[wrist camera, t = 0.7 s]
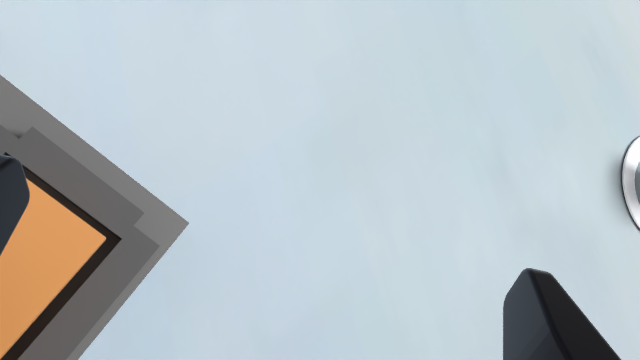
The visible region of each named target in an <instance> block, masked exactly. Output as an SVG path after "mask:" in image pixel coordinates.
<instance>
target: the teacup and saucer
mask: <svg viewBox="0 0 640 360" xmlns="http://www.w3.org/2000/svg"><path fill="white" fill-rule="evenodd" d="M639 161H640V137H638V138H637V139H636V140H635V141H634V142H633V143H632V144H631V146H630V147H629V149H628V151H627V153H626V156H625V159H624V164H623V172H622V182H623V191H624V196H625V200H626V203H627V206H628V209H629V211H630V214H631V216H632V218H633V219H634V221H635V223H636V224H637V226H638V227H639V228H640V204H639V201H638V199H637V195H636V191H635V172H636V168H637V165H638V163H639Z"/></svg>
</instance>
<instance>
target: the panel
mask: <svg viewBox="0 0 640 360" xmlns="http://www.w3.org/2000/svg"><path fill="white" fill-rule="evenodd" d="M0 154H1V155H6V156H11V157H15V158H17V159H18V160H19V161H20V162H21V164H22V166H23V170H24V173H25V177H26V178H27V179H28V180H29V181H31V182H32V183H33V184H35V185H36V186H37V187H39V188H40V189H41V190H43V191H44V192H45V193H47V194H48V195H50V196H51V197H52V198H54V199H55V200H56V201H58V202H59V203H60V204H62V205H63V206H64V207H66V208H67V209H68V210H70V211H71V212H72V213H74V214H75V215H76V216H78V217H79V218H81V219H82V220H83V221H85V222H86V223H87V224H89V225H90V226H91V227H93V228H94V229H95V230H97V231H98V232H99V233H101V234H102V235H103V236H105V237H106V240H105V241H104V242H103V244H102V245H101V246H100V247H99V248H98V249H97V250H96V252H95V253H94V254H93V255H92V256H91V257H90V258H89V259H88V261H87V262H86V263H85V264H84V265H83V266H82V267H81V269H80V270H79V271H78V272H77V273H76V274H75V275H74V277H73V278H72V279H71V280H70V281H69V282H68V283H67V284H66V286H65V287H64V288H63V289H62V290H61V291H60V292H59V294H58V295H57V296H56V297H55V298H54V299H53V300H52V302H51V303H50V304H49V305H48V306H47V307H46V308H45V309H44V311H43V312H42V313H41V314H40V315H39V316H38V317H37V319H36V320H35V321H34V322H33V323H32V324H31V325H30V327H29V328H28V329H27V330H26V331H25V332H24V333H23V334H22V336H21V337H20V338H19V339H18V340H17V341H16V342H15V344H14V345H13V346H12V347H11V348H10V349H9V350H8V352H7V353H6V354H5V355H4V356H3V357H2V358H1V359H0V360H78V359H79V358H80V356H81V355H82V354H83V353H84V351H85V350H86V349H87V348H88V347H89V345H90V344H91V343H92V342H93V340H94V339H95V338H96V337H97V336H98V334H99V333H100V332H101V331H102V329H103V328H104V327H105V326H106V324H107V323H108V322H109V321H110V320H111V318H112V317H113V316H114V315H115V313H116V312H117V311H118V310H119V309H120V307H121V306H122V305H123V304H124V302H125V301H126V300H127V299H128V298H129V296H130V295H131V294H132V293H133V291H134V290H135V289H136V288H137V287H138V285H139V284H140V283H141V282H142V280H143V279H144V278H145V277H146V276H147V274H148V273H149V272H150V271H151V269H152V268H153V267H154V266H155V264H156V263H157V262H158V261H159V260H160V258H161V257H162V256H163V255H164V253H165V252H166V251H167V250H168V249H169V247H170V246H171V245H172V244H173V242H174V241H175V240H176V239H177V238H178V236H179V235H180V234H181V233H182V231H183V230H184V229H185V228H186V227H187V225H188V224H189V222H187V221H186V220H185V219H183V218H182V217H181V216H180V215H178V214H177V213H176V212H174V211H173V210H172V209H171V208H169V207H168V206H167V205H166V204H164V203H163V202H162V201H160V200H159V199H158V198H157V197H155V196H154V195H153V194H152V193H150V192H149V191H148V190H146V189H145V188H144V187H143V186H141V185H140V184H139V183H137V182H136V181H135V180H134V179H132V178H131V177H130V176H129V175H127V174H126V173H125V172H123V171H122V170H121V169H120V168H118V167H117V166H116V165H115V164H113V163H112V162H111V161H109V160H108V159H107V158H106V157H104V156H103V155H102V154H100V153H99V152H98V151H97V150H95V149H94V148H93V147H92V146H90V145H89V144H88V143H86V142H85V141H84V140H83V139H81V138H80V137H79V136H78V135H76V134H75V133H74V132H72V131H71V130H70V129H69V128H67V127H66V126H65V125H64V124H62V123H61V122H60V121H58V120H57V119H56V118H55V117H53V116H52V115H51V114H49V113H48V112H47V111H46V110H44V109H43V108H42V107H41V106H39V105H38V104H37V103H35V102H34V101H33V100H32V99H30V98H29V97H28V96H27V95H25V94H24V93H23V92H21V91H20V90H19V89H18V88H16V87H15V86H14V85H12V84H11V83H10V82H9V81H7V80H6V79H5V78H4V77H2V76H1V75H0Z"/></svg>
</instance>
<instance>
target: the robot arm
mask: <svg viewBox="0 0 640 360" xmlns="http://www.w3.org/2000/svg"><path fill="white" fill-rule="evenodd" d="M29 199H30V191H29V187H28V184H27V180H26V177H25V173H24V170H23V166H22V164H21V162H20V161H19V160H18V159H17V158H15V157H11V156H6V155H1V154H0V256H1V254H2V252H3V250H4V248H5V246H6V245H7V243H8V241H9V239H10V237H11V235H12V234H13V232H14V230H15V228H16V226H17V224H18V222H19V221H20V219H21V217H22V215H23V213H24V211H25V209H26V208H27V206H28V203H29ZM503 360H621V359H620V358H619V356H618V355H617V354H616V353H615V352H614V350H613V349H612V348H611V347H610V345H609V344H608V343H607V342H606V340H605V339H604V338H603V337H602V336H601V334H600V333H599V332H598V331H597V329H596V328H595V327H594V326H593V324H592V323H591V322H590V321H589V320H588V318H587V317H586V316H585V315H584V313H583V312H582V311H581V310H580V308H579V307H578V306H577V305H576V304H575V302H574V301H573V300H572V299H571V297H570V296H569V295H568V294H567V292H566V291H565V290H564V289H563V288H562V286H561V285H560V284H559V283H558V281H557V280H556V279H555V278H554V277H553V275H551V274H550V273H548V272H545V271H541V270H536V269H532V268H526V269H524V270H523V271H522V272H521V274H520V275H519V277H518V278H517V280H516V281H515V283H514V284H513V286H512V287H511V289H510V290H509V292H508V293H507V295H506V297H505V301H504V306H503Z"/></svg>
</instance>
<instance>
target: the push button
mask: <svg viewBox="0 0 640 360" xmlns="http://www.w3.org/2000/svg"><path fill="white" fill-rule="evenodd" d="M26 180H27V184H28V187H29V191H30V199H29V203H28V206H27V208H26V209H25V211H24V213H23V215H22V217H21V219H20V221H19V222H18V224H17V226H16V228H15V230H14V232H13V234H12V235H11V237H10V239H9V241H8V243H7V245H6V246H5V248H4V250H3V252H2V254H1V256H0V359H1V358H2V357H3V356H4V355H5V354H6V353H7V352H8V350H9V349H10V348H11V347H12V346H13V345H14V344H15V342H16V341H17V340H18V339H19V338H20V337H21V336H22V334H23V333H24V332H25V331H26V330H27V329H28V328H29V327H30V325H31V324H32V323H33V322H34V321H35V320H36V319H37V317H38V316H39V315H40V314H41V313H42V312H43V311H44V309H45V308H46V307H47V306H48V305H49V304H50V303H51V302H52V300H53V299H54V298H55V297H56V296H57V295H58V294H59V292H60V291H61V290H62V289H63V288H64V287H65V286H66V284H67V283H68V282H69V281H70V280H71V279H72V278H73V277H74V275H75V274H76V273H77V272H78V271H79V270H80V269H81V267H82V266H83V265H84V264H85V263H86V262H87V261H88V259H89V258H90V257H91V256H92V255H93V254H94V253H95V252H96V250H97V249H98V248H99V247H100V246H101V245H102V244H103V242H104V241H105V240H106V237H105V236H103V235H102V234H101V233H99V232H98V231H97V230H95V229H94V228H93V227H91V226H90V225H89V224H87V223H86V222H85V221H83V220H82V219H81V218H79V217H78V216H76V215H75V214H74V213H72V212H71V211H70V210H68V209H67V208H66V207H64V206H63V205H62V204H60V203H59V202H58V201H56V200H55V199H54V198H52V197H51V196H50V195H48V194H47V193H45V192H44V191H43V190H41V189H40V188H39V187H37V186H36V185H35V184H33V183H32V182H31V181H29V180H28V179H27V178H26Z"/></svg>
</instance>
